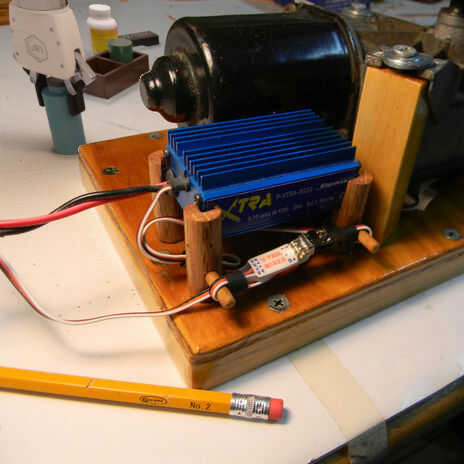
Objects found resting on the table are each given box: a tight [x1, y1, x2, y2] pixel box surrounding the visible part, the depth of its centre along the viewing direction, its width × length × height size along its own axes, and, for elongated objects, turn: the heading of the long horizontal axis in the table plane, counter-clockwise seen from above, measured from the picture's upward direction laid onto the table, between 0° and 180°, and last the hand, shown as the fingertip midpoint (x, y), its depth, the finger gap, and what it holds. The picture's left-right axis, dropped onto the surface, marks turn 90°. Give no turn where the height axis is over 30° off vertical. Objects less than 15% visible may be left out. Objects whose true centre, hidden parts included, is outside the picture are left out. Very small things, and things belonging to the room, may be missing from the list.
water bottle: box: [41, 76, 87, 156], centre depth 83 cm, size 5×5×13 cm
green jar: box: [107, 38, 134, 64], centre depth 109 cm, size 5×5×8 cm
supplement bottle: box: [86, 3, 119, 57], centre depth 114 cm, size 7×7×13 cm
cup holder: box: [71, 49, 151, 100], centre depth 107 cm, size 9×16×6 cm, turn 162°
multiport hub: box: [118, 30, 160, 48], centre depth 129 cm, size 4×11×2 cm, turn 140°
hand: (62, 107), depth 82 cm, fingers closed on water bottle, 5 cm apart
